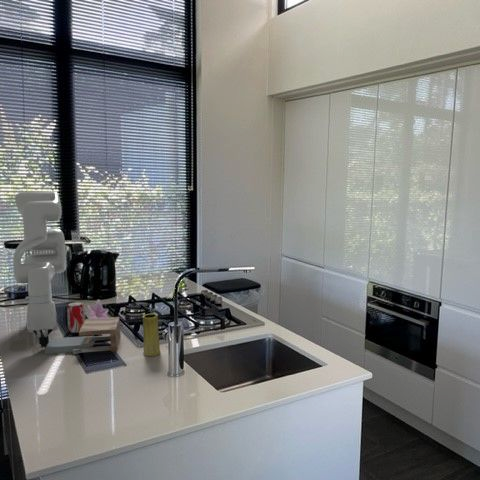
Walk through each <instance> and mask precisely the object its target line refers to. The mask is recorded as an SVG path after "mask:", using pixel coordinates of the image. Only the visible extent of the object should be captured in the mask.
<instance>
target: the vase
mask: <svg viewBox="0 0 480 480" xmlns="http://www.w3.org/2000/svg"><path fill="white" fill-rule="evenodd" d="M158 319H159V318H158V314H157V313H147V314H144V315H143V316H142V325H143V326H142V329H143V331H142V333H143V353H142V354H143V355H144V356H145V357H156V356H158V355H160V354H161V347H160V334H159V320H158Z"/></svg>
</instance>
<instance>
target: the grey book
mask: <svg viewBox="0 0 480 480" xmlns="http://www.w3.org/2000/svg"><path fill="white" fill-rule="evenodd" d="M94 337H95V335H84V336H72V337H71V336H70V337H69V336H68V337H55V338H51V339H49V340H50V341H49V343H48V344H47V346H46V347H44V351H45V352H44V354H45V355H52V354H66V353H67V354H68V353H69V354H70V353H73V350H74V349H79V348H87V347H94V344H95V342H96V341H95V338H94Z"/></svg>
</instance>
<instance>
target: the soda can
mask: <svg viewBox="0 0 480 480" xmlns="http://www.w3.org/2000/svg"><path fill="white" fill-rule="evenodd" d="M66 312H67V314H66V315H67V327H68V331H69V332H71V334H79V331H80V329H81V327H82V325H83V324H84V322H85V320H86V310H85V306H84V304H83V302H82V301H73V302H71V303H68V306H67V308H66Z"/></svg>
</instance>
